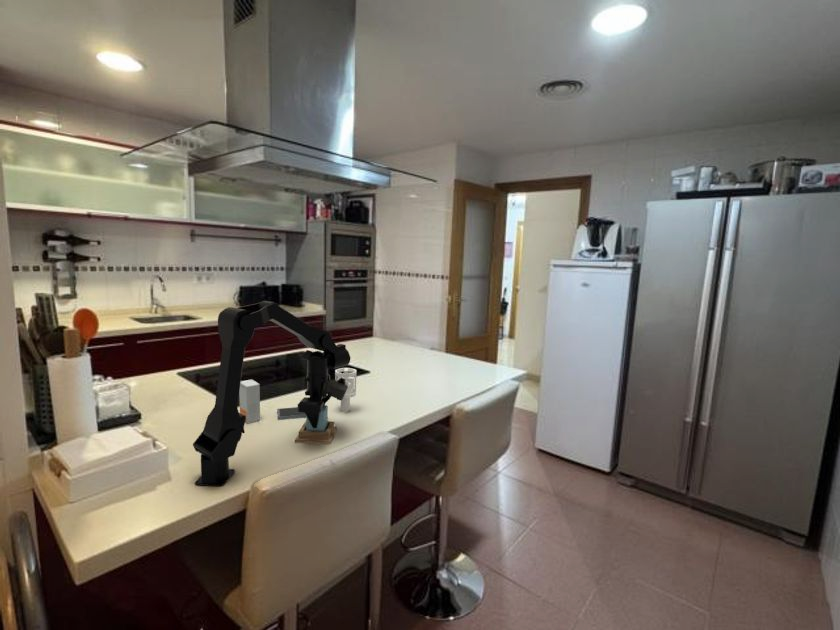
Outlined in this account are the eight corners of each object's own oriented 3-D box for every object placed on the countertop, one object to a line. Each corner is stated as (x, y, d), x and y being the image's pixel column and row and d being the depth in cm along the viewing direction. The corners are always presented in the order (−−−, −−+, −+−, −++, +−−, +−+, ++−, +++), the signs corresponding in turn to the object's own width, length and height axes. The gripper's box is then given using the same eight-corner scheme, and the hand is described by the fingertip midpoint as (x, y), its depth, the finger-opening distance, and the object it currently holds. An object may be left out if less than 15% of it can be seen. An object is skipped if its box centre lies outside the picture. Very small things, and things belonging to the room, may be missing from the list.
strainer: (334, 414, 136) (335, 370, 134) (334, 406, 143) (335, 364, 140) (356, 413, 137) (357, 370, 135) (355, 405, 144) (356, 364, 142)
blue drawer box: (323, 431, 117) (324, 410, 116) (306, 430, 117) (306, 410, 116) (327, 424, 121) (327, 405, 121) (310, 424, 121) (310, 404, 121)
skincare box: (239, 417, 130) (238, 381, 128) (252, 414, 132) (252, 378, 131) (247, 424, 125) (246, 386, 123) (260, 420, 128) (260, 383, 126)
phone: (322, 415, 134) (322, 412, 134) (277, 419, 129) (277, 416, 129) (320, 408, 141) (320, 404, 140) (277, 411, 136) (277, 408, 136)
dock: (330, 444, 115) (330, 434, 114) (294, 442, 115) (294, 433, 114) (337, 429, 125) (337, 420, 124) (304, 427, 125) (304, 418, 124)
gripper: (339, 383, 108) (338, 439, 110) (351, 365, 126) (350, 413, 128) (297, 382, 108) (296, 438, 110) (315, 363, 126) (314, 411, 128)
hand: (317, 424), depth 119 cm, fingers closed on blue drawer box, 4 cm apart
